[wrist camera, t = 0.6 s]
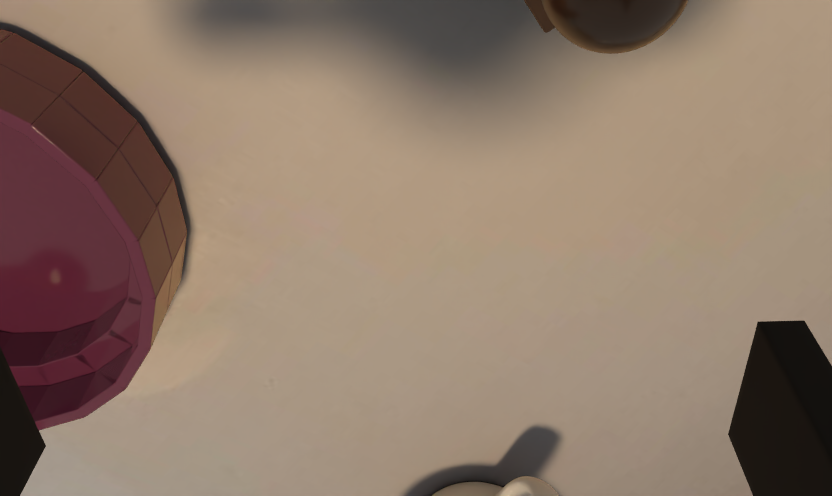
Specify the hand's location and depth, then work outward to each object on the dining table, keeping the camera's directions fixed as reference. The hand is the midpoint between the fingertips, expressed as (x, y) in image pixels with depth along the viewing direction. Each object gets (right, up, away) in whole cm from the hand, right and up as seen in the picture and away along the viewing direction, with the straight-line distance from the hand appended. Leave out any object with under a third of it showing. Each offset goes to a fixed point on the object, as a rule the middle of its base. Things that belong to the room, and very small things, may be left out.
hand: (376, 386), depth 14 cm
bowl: (-20, +5, +24) cm, 32 cm away
